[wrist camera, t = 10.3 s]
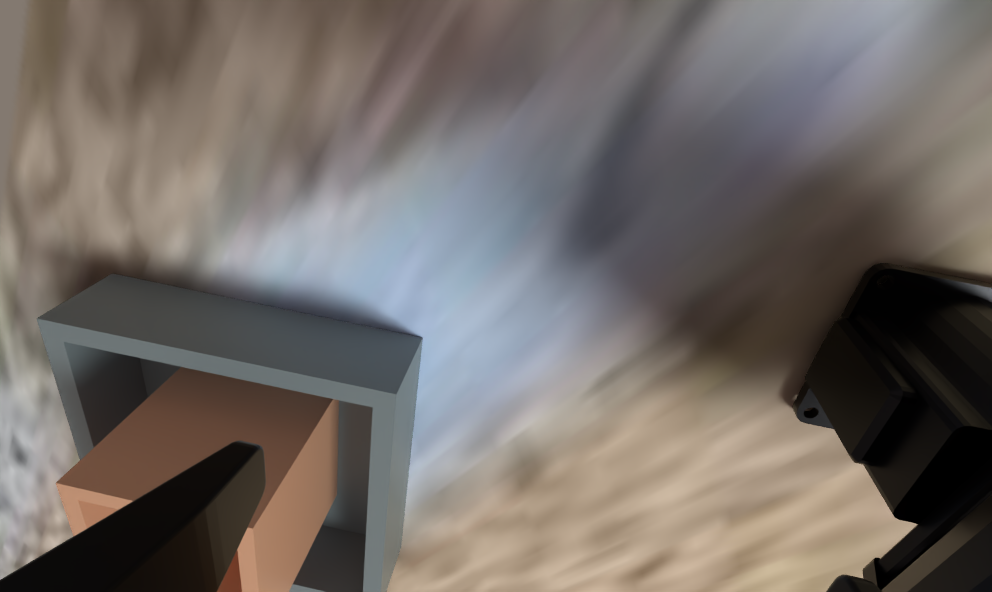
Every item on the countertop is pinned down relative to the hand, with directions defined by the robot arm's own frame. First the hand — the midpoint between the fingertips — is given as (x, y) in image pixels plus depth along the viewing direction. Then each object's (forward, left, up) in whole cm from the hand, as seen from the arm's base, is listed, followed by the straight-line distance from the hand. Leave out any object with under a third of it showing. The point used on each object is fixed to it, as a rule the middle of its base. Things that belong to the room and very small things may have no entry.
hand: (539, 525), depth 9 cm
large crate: (+11, +12, -12) cm, 21 cm away
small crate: (+11, +12, -12) cm, 20 cm away
